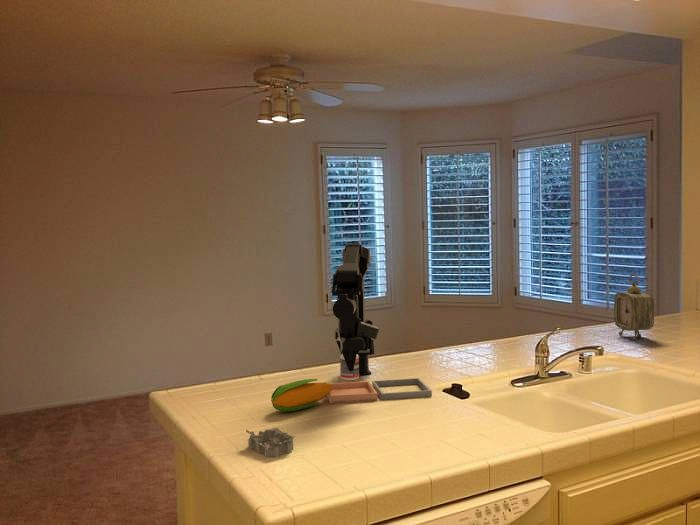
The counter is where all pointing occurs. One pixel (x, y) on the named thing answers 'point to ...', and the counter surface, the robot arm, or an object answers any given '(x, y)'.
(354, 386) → the terracotta dish
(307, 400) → the corn
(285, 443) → the egg carton
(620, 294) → the tabletop clock
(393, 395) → the grey frame
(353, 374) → the pill bottle
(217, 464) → the counter surface
